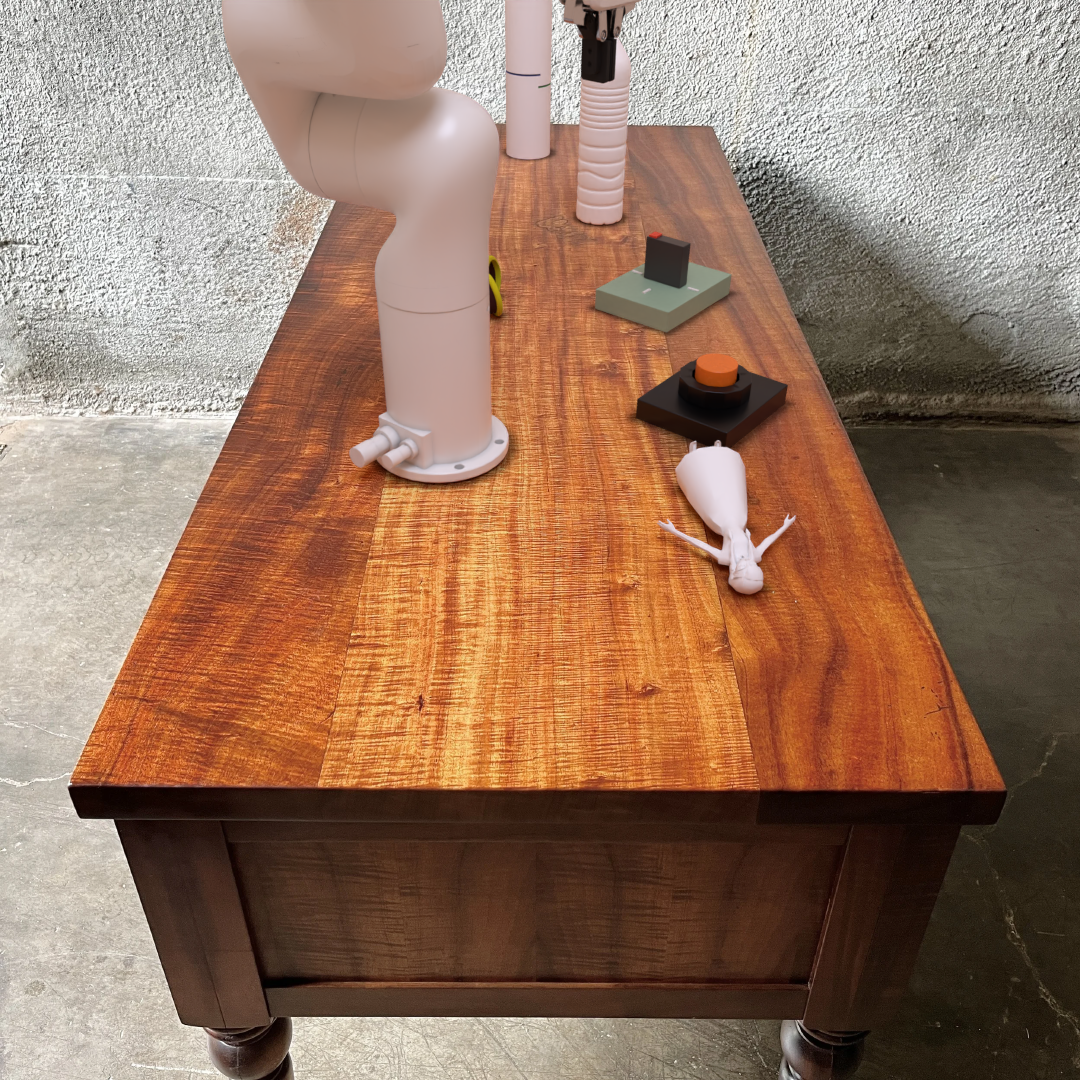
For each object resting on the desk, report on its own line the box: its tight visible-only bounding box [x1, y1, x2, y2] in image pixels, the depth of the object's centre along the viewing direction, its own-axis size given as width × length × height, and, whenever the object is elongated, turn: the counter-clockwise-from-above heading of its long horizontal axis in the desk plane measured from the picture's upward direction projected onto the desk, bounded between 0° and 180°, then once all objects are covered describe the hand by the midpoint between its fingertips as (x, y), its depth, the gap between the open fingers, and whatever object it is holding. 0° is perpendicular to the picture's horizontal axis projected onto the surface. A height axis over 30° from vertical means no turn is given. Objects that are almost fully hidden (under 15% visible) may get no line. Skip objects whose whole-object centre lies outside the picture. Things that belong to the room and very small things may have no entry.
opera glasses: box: [489, 254, 504, 317], centre depth 121 cm, size 10×5×5 cm, turn 3°
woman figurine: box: [656, 440, 797, 595], centre depth 86 cm, size 12×4×18 cm
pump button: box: [695, 352, 739, 387], centre depth 100 cm, size 4×4×2 cm
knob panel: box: [594, 261, 733, 333], centre depth 123 cm, size 14×10×3 cm
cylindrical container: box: [504, 0, 553, 160], centre depth 162 cm, size 7×7×25 cm
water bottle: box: [575, 37, 632, 226], centre depth 139 cm, size 9×6×25 cm
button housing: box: [635, 357, 789, 449], centre depth 102 cm, size 12×10×4 cm
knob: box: [644, 231, 691, 288], centre depth 121 cm, size 5×2×5 cm, turn 51°
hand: (597, 79), depth 107 cm, fingers closed
